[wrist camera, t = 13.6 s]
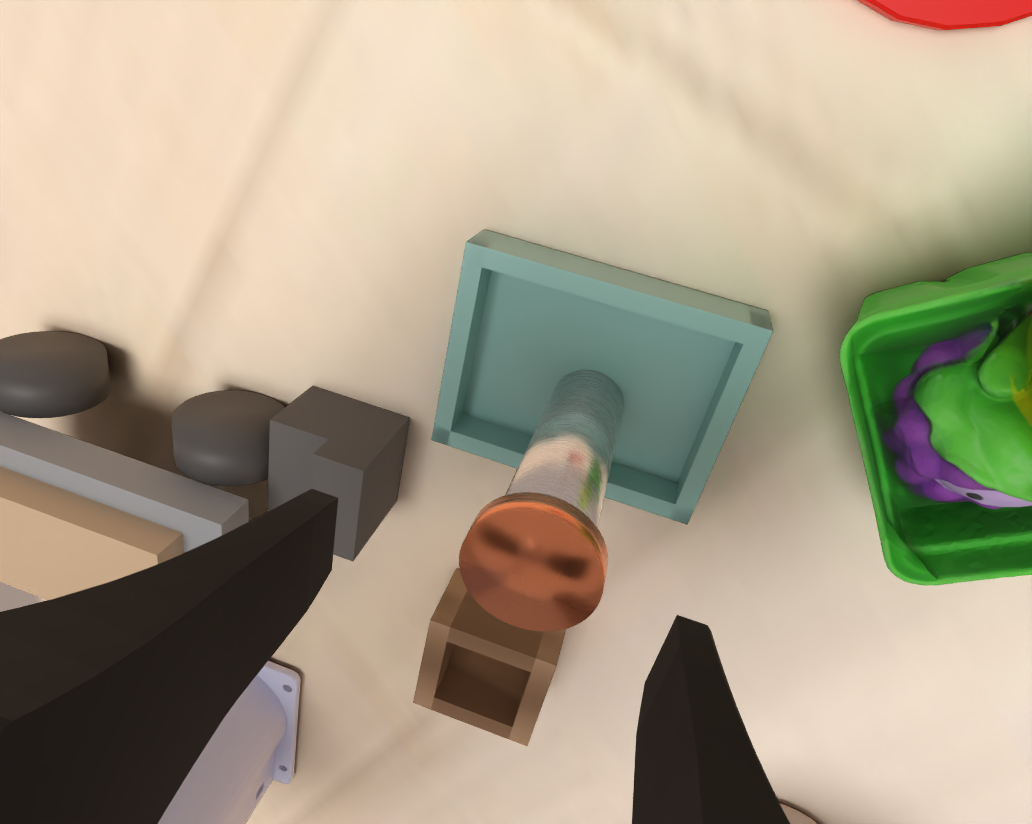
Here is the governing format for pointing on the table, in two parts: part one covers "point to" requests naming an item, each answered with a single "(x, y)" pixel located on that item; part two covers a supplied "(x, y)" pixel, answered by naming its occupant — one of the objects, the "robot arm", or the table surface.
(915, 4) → the tow hook
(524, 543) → the pin
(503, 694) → the pin socket
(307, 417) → the block
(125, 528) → the trolley
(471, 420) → the tray
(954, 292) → the fruit basket
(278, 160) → the table surface
